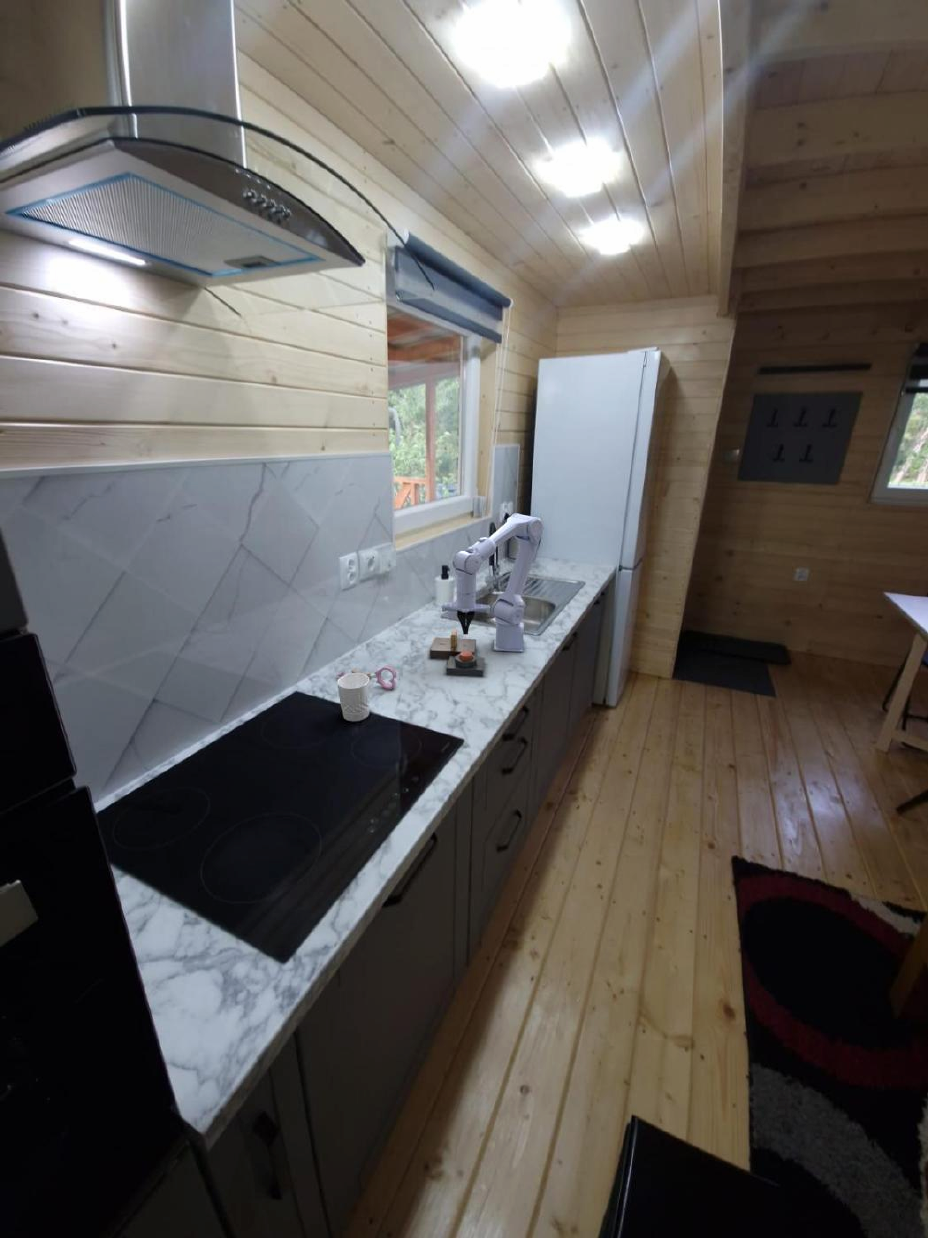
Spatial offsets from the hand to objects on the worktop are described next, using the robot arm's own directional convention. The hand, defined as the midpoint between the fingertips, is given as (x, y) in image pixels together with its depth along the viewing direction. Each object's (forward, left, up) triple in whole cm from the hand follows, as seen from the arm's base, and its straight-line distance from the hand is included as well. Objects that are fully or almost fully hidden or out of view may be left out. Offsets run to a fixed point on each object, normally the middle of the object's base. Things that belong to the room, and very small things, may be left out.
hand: (465, 633), depth 153 cm
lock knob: (+4, -6, -7) cm, 10 cm away
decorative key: (+27, +17, -10) cm, 34 cm away
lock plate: (+4, -6, -10) cm, 12 cm away
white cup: (+25, +33, -10) cm, 43 cm away
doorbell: (-1, +5, -10) cm, 11 cm away
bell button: (-1, +5, -6) cm, 8 cm away
